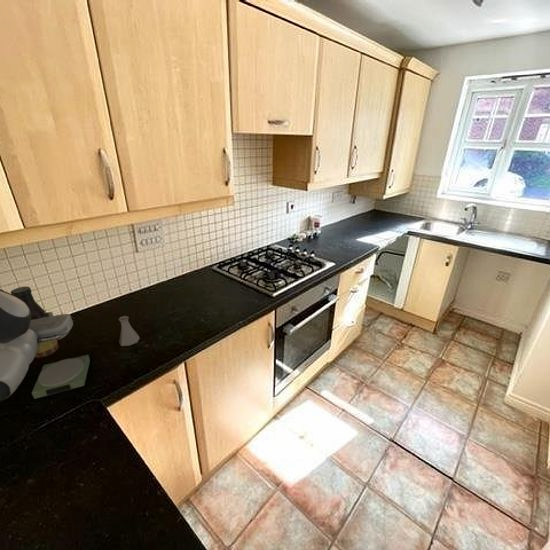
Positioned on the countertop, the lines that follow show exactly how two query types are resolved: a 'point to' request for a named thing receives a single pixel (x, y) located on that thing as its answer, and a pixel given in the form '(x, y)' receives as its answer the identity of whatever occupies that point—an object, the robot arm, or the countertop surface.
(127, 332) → the flask
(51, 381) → the scale
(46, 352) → the sauce bottle
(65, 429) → the countertop surface
